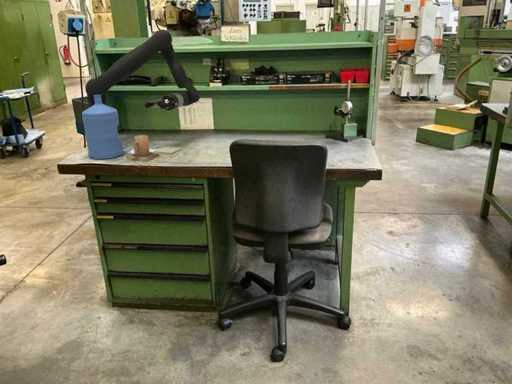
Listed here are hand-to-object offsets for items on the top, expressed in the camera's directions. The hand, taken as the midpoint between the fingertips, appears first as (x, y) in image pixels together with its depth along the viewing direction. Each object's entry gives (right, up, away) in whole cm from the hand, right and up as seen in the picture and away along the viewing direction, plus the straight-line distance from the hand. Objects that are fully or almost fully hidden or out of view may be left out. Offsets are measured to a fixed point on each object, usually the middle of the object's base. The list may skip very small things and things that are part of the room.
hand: (153, 106), depth 194 cm
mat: (+5, -20, +9) cm, 22 cm away
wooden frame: (-4, -24, -2) cm, 25 cm away
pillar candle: (-4, -25, -3) cm, 25 cm away
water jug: (-23, -23, +3) cm, 32 cm away
